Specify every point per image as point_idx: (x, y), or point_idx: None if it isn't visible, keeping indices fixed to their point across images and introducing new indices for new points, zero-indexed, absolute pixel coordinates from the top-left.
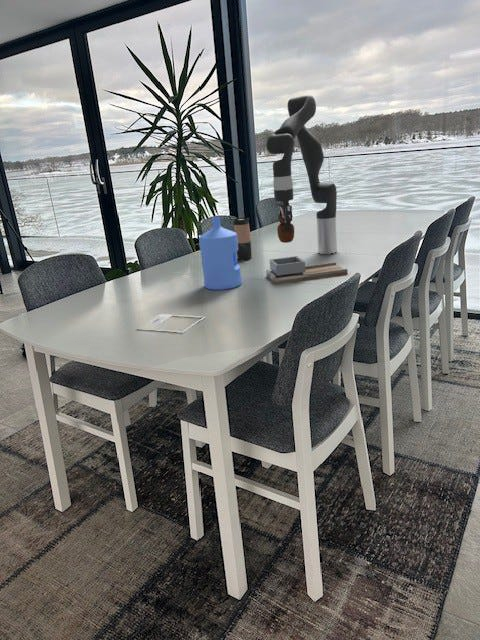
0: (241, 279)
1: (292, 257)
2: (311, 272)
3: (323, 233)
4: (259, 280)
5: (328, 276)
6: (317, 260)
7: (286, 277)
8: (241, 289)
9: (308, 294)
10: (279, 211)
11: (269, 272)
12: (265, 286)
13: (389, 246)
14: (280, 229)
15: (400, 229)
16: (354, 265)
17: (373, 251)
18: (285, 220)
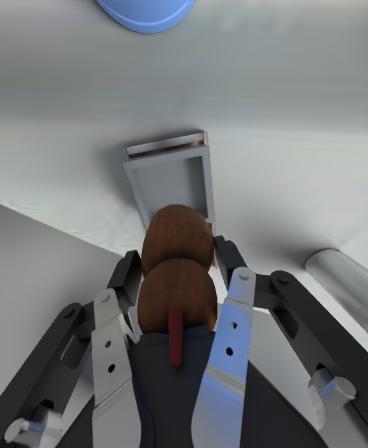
0: (138, 27)
1: (207, 211)
2: None
3: (346, 287)
4: (170, 107)
5: None
6: (278, 243)
7: None
8: (79, 32)
9: (47, 210)
10: (220, 342)
11: (170, 140)
12: (108, 122)
13: None
14: (149, 235)
15: (361, 333)
16: (213, 281)
17: None
18: (71, 307)
